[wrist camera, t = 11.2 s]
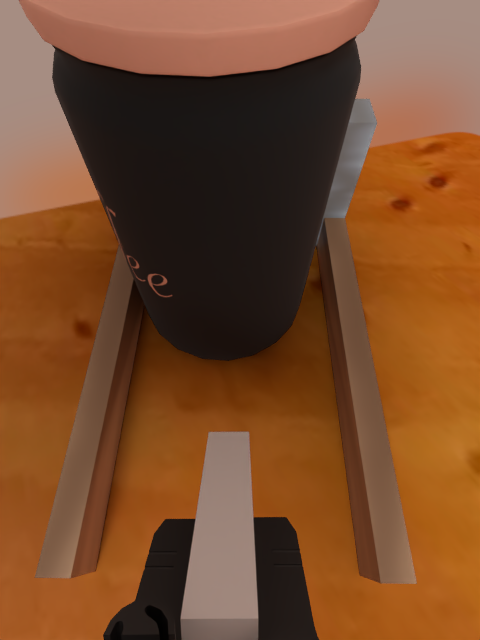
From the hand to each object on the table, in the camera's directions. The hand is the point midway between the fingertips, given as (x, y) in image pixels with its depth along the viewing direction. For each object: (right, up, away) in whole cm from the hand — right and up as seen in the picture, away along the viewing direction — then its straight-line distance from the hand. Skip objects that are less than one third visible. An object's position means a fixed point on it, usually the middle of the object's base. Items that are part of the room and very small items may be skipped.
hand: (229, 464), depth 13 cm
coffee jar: (-1, +7, +12) cm, 14 cm away
